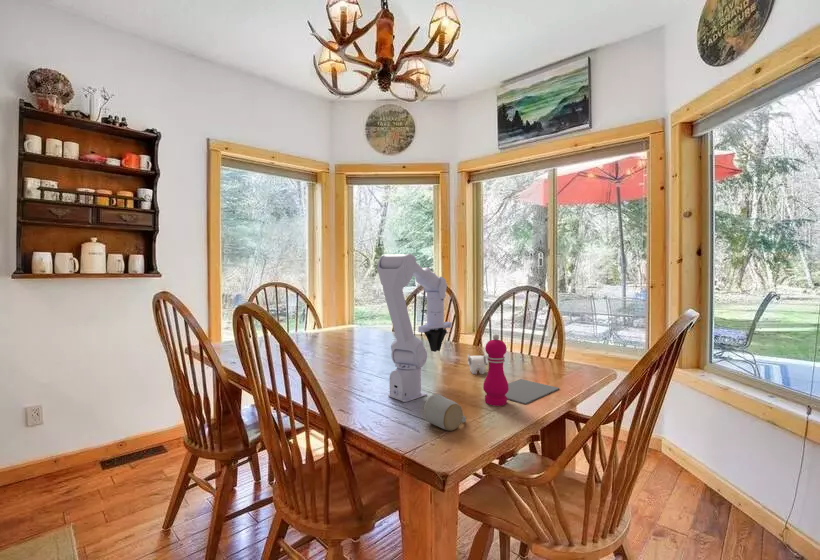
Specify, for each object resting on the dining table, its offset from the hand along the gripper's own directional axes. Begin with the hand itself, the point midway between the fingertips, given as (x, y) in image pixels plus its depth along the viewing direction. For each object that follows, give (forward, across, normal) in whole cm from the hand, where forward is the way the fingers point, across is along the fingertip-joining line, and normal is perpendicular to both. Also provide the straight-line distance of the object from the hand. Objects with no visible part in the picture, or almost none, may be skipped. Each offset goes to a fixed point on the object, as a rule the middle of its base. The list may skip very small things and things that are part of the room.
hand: (435, 350), depth 141 cm
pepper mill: (+11, +3, +27) cm, 29 cm away
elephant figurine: (+11, -19, +3) cm, 22 cm away
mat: (+10, -12, +27) cm, 31 cm away
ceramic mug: (+11, +25, +28) cm, 39 cm away
